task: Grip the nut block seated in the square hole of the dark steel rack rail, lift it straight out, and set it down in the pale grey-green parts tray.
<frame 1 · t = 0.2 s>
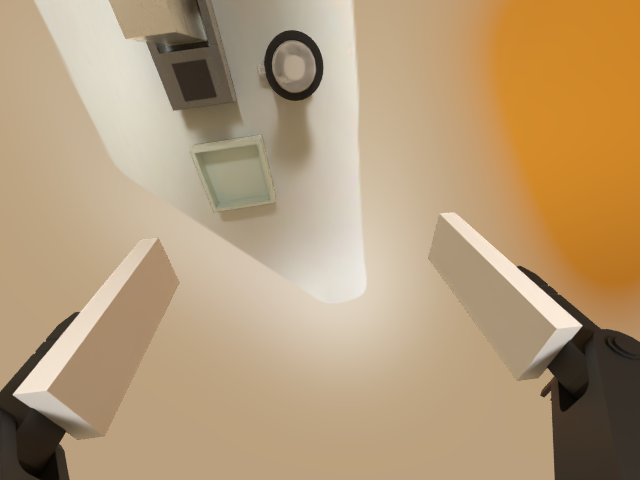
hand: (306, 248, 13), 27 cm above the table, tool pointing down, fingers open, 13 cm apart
rack rail: (185, 31, 28), on the table
push button: (286, 67, 31), on the table
nut block: (181, 19, 28), resting in rack rail
parts tray: (238, 172, 37), on the table
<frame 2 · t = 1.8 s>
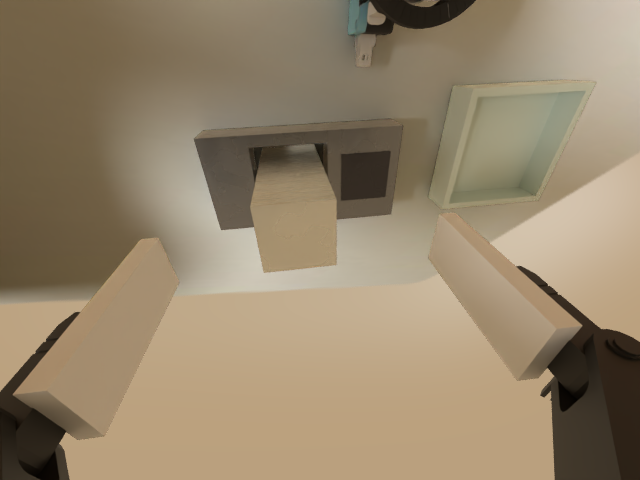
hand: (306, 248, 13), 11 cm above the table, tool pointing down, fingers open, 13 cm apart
rack rail: (303, 170, 21), on the table
push button: (362, 2, 16), on the table
nut block: (290, 170, 21), resting in rack rail
parts tray: (489, 144, 22), on the table
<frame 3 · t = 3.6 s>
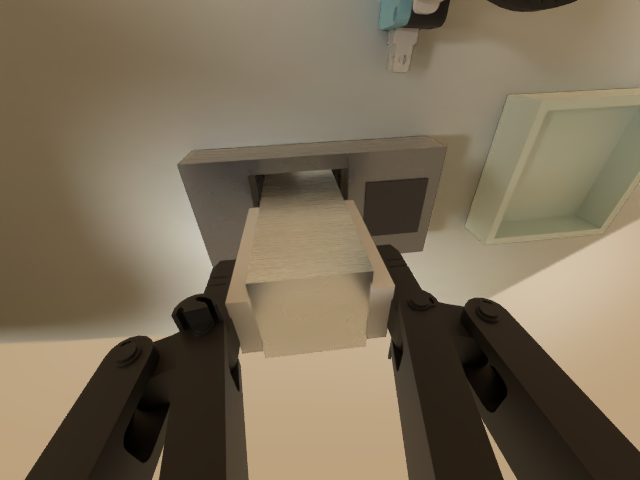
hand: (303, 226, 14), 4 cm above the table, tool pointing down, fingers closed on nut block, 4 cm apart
rack rail: (315, 196, 17), on the table
nut block: (300, 198, 17), resting in rack rail, touching gripper
parts tray: (544, 165, 18), on the table
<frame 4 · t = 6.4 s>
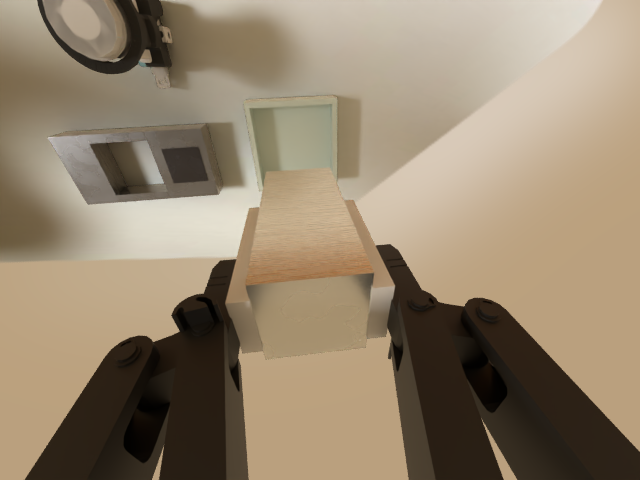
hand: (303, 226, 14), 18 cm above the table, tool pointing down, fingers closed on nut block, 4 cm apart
rack rail: (151, 161, 29), on the table
push button: (157, 44, 24), on the table
nut block: (300, 198, 17), point 15 cm above the table, touching gripper
parts tray: (294, 142, 29), on the table
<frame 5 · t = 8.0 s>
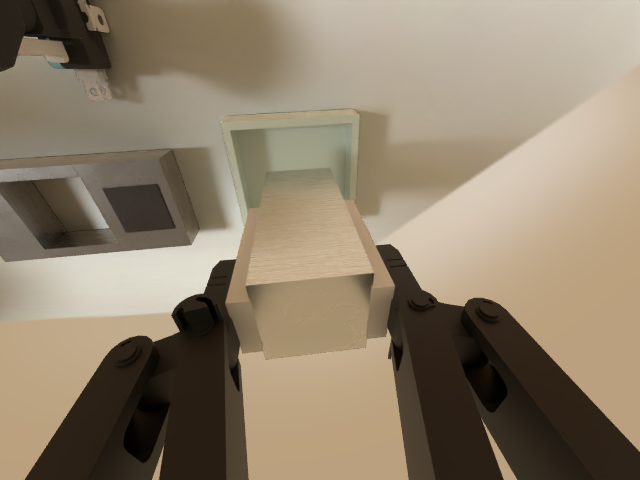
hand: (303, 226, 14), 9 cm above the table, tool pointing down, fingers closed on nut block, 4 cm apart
rack rail: (96, 199, 21), on the table
push button: (87, 34, 15), on the table
nut block: (300, 198, 17), point 5 cm above the table, touching gripper
parts tray: (295, 172, 21), on the table
when the fingers open (5 cm above the table, at t = 9.3 s): nut block drops 1 cm, resting on parts tray.
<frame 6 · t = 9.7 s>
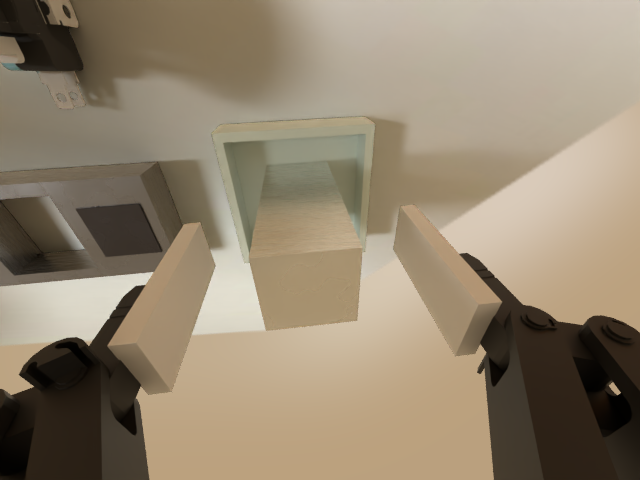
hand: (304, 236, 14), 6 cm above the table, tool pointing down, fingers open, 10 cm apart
rack rail: (73, 218, 18), on the table
push button: (53, 29, 13), on the table
nut block: (299, 190, 18), resting on parts tray
parts tray: (299, 187, 19), on the table
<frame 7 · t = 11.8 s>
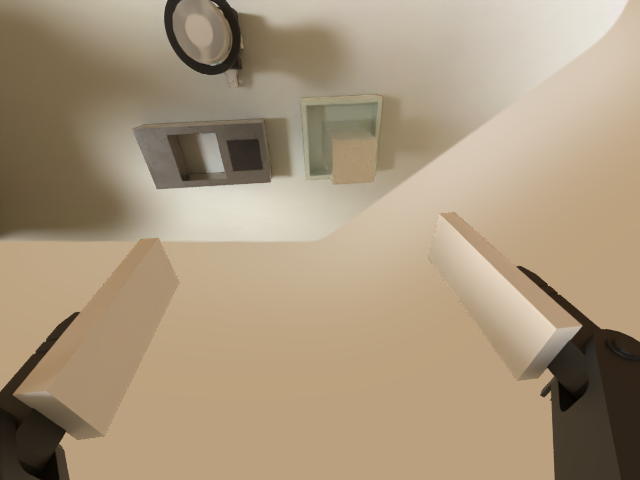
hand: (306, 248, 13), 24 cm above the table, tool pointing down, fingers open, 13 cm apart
rack rail: (212, 151, 33), on the table
push button: (229, 49, 27), on the table
nut block: (338, 137, 33), resting on parts tray
parts tray: (338, 136, 33), on the table
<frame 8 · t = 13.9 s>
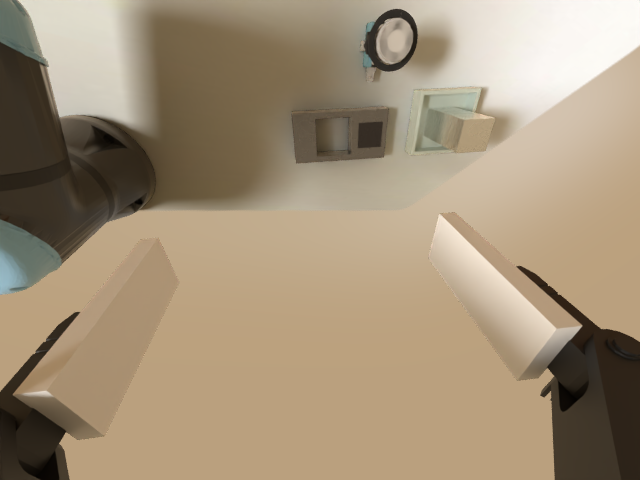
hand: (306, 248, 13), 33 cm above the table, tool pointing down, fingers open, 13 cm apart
rack rail: (337, 133, 41), on the table
push button: (369, 52, 36), on the table
nut block: (437, 121, 41), resting on parts tray
parts tray: (436, 120, 42), on the table
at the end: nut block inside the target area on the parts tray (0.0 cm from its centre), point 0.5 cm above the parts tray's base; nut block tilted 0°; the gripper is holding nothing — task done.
